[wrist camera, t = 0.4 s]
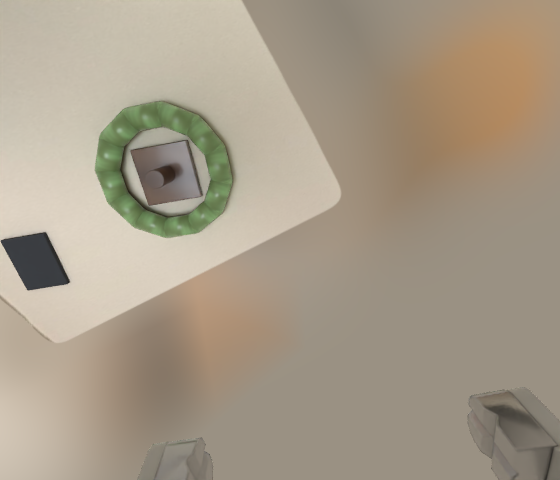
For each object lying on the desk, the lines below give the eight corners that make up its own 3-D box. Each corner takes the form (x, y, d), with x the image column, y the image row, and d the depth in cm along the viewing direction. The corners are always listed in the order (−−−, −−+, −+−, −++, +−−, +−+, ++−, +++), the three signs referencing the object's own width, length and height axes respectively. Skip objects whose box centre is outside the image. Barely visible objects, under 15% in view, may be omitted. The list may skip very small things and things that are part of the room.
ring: (82, 117, 40) (68, 116, 37) (214, 92, 40) (210, 90, 37) (130, 241, 47) (120, 248, 44) (243, 222, 46) (241, 228, 43)
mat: (3, 239, 46) (0, 240, 46) (45, 232, 46) (42, 233, 46) (30, 288, 50) (27, 290, 49) (70, 282, 49) (67, 284, 49)
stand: (132, 149, 42) (113, 153, 37) (187, 139, 42) (175, 141, 36) (151, 204, 45) (135, 214, 40) (202, 195, 44) (193, 204, 39)
